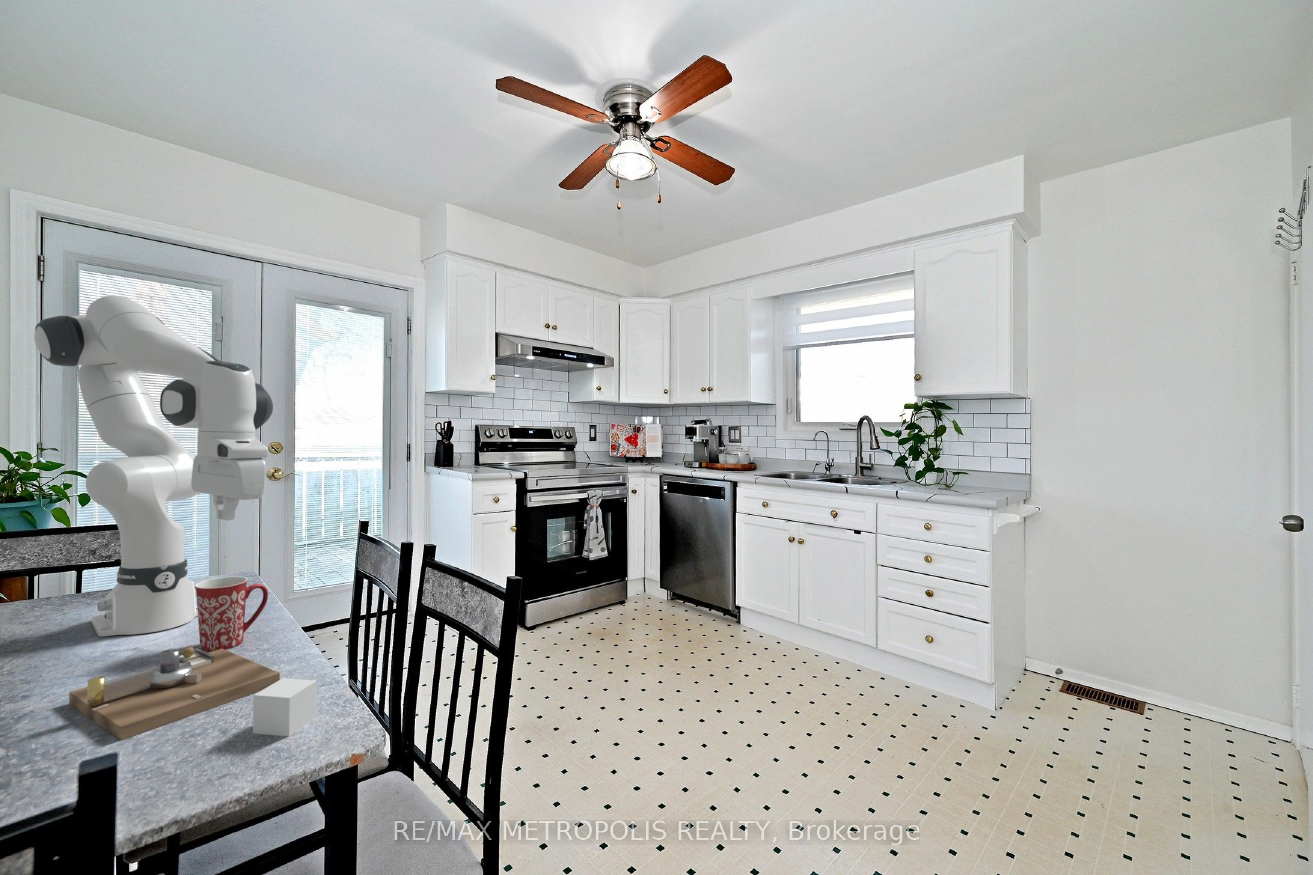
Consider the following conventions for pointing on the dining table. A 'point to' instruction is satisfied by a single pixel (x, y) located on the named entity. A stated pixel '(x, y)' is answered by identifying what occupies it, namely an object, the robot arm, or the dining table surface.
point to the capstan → (143, 679)
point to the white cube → (284, 707)
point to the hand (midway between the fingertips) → (225, 519)
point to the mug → (224, 611)
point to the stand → (179, 694)
